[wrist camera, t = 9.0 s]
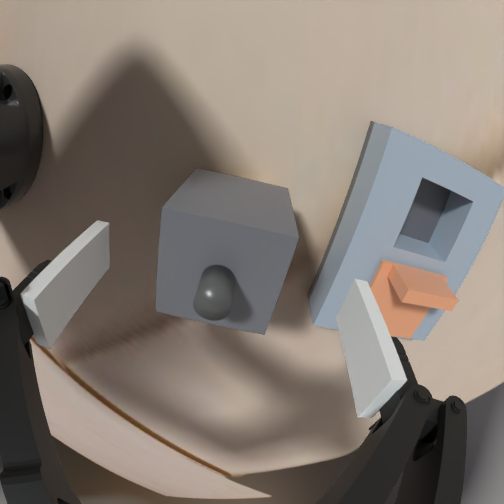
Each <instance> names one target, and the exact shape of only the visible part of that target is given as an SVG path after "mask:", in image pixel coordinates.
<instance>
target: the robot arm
mask: <svg viewBox="0 0 504 504" xmlns="http://www.w3.org/2000/svg"><path fill="white" fill-rule="evenodd" d="M41 148H42V117H41V110H40V105H39V100H38V97H37V94H36V91H35V88H34V86H33V84H32V82H31V80H30V79H29V77H28V76H27V75H26V74H25V73H24V72H23V71H22V70H21V69H20V68H18V67H16V66H14V65H8V64H6V65H0V210H2V209H4V208H6V207H8V206H9V205H11V204H13V203H14V202H16V201H17V200H19V199H20V198H21V197H22V196H23V195H24V194H25V193H26V192H27V191H28V189H29V188H30V186H31V184H32V182H33V180H34V178H35V175H36V172H37V169H38V165H39V161H40V156H41ZM109 268H110V249H109V223H107V222H103V221H98V220H97V221H96V222H95V223H93V224H92V225H91V226H90V227H89V228H88V229H86V230H85V231H84V232H83V233H82V234H81V235H80V236H79V237H77V238H76V239H75V240H74V241H73V242H72V243H71V244H70V245H69V246H68V247H67V248H65V249H64V250H63V251H62V252H61V253H60V254H59V255H58V256H57V257H56V258H55V259H54V260H53V261H50V260H47V261H45V262H43V263H41V264H39V265H38V266H37V267H36V268H35V269H34V270H33V272H31V273H30V274H29V275H28V277H26V278H25V279H24V280H23V281H22V282H21V283H20V284H19V285H18V286H17V287H16V288H15V289H14V290H13V291H12V288H11V284H10V281H9V280H8V279H7V278H5V277H0V455H1V459H2V463H3V467H4V469H3V472H1V474H0V481H1V485H2V488H3V492H4V495H5V497H6V500H7V503H8V504H81V502H80V500H79V499H78V497H77V495H76V494H75V492H74V491H73V490H72V488H71V486H70V485H69V483H68V480H67V478H66V475H65V473H64V470H63V468H62V465H61V463H60V460H59V457H58V454H57V451H56V449H55V446H54V443H53V440H52V437H51V433H50V430H49V427H48V423H47V420H46V416H45V412H44V409H43V405H42V401H41V396H40V392H39V387H38V383H37V377H36V372H35V367H34V361H33V354H32V347H31V343H30V341H29V340H30V338H31V337H32V335H33V334H34V337H35V340H36V342H37V344H39V345H41V346H43V347H45V348H48V349H51V347H52V346H53V344H54V343H55V341H56V340H57V338H58V337H59V335H60V334H61V333H62V331H63V330H64V328H65V327H66V325H67V324H68V322H69V321H70V320H71V318H72V317H73V315H74V314H75V312H76V311H77V310H78V308H79V307H80V306H81V304H82V303H83V301H84V300H85V299H86V297H87V296H88V295H89V293H90V292H91V291H92V289H93V288H94V287H95V285H96V284H97V283H98V282H99V280H100V279H101V278H102V276H103V275H104V274H105V273H106V271H107V270H108V269H109ZM336 321H337V325H338V329H339V333H340V338H341V342H342V346H343V351H344V355H345V359H346V364H347V369H348V373H349V378H350V383H351V387H352V392H353V397H354V403H355V408H356V413H357V417H373V416H374V415H375V414H376V413H377V412H378V411H379V410H380V414H381V418H380V419H379V420H378V421H376V422H375V423H374V424H373V425H372V426H371V427H370V428H369V430H371V429H372V430H371V431H370V433H369V434H368V436H367V438H366V439H365V441H364V442H363V443H362V445H361V446H360V448H359V449H358V451H357V452H356V454H355V455H354V456H353V458H352V459H351V461H350V462H349V463H348V464H347V466H346V467H345V468H344V470H343V471H342V472H341V474H340V475H339V476H338V478H337V479H336V480H335V481H334V483H333V484H332V485H331V486H330V487H329V489H328V490H327V491H326V492H325V494H324V495H323V496H322V497H321V498H320V499H319V501H318V502H317V503H316V504H384V503H385V501H386V500H387V498H388V497H389V495H390V493H391V491H392V489H393V488H394V486H395V484H396V483H397V481H398V479H399V477H400V475H401V473H402V471H403V470H404V472H403V476H402V480H401V484H400V487H399V491H398V495H397V498H396V501H395V504H460V502H461V496H462V489H463V481H464V471H465V458H466V440H467V410H466V406H465V404H464V402H463V401H462V400H461V399H460V398H458V397H457V396H449V397H448V398H447V399H446V400H445V401H444V402H443V401H439V400H436V399H433V398H432V395H431V393H430V392H429V390H428V389H426V388H425V387H424V386H422V385H418V383H417V380H416V378H415V375H414V372H413V370H412V367H411V365H410V362H408V357H407V355H406V352H405V350H404V347H403V345H402V344H401V342H400V341H399V340H398V339H397V338H396V337H391V336H390V333H389V331H388V328H387V326H386V323H385V321H384V319H383V316H382V314H381V312H380V309H379V307H378V305H377V302H376V300H375V298H374V295H373V293H372V291H371V289H370V287H369V284H368V282H367V281H363V280H359V279H354V281H353V284H352V286H351V288H350V290H349V292H348V294H347V296H346V298H345V300H344V302H343V304H342V306H341V308H340V310H339V312H338V314H337V316H336Z"/></svg>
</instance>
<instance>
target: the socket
mask: <svg viewBox="0 0 504 504" xmlns="http://www.w3.org/2000/svg"><path fill="white" fill-rule="evenodd" d="M503 198H504V187H503V186H501V185H500V184H498V183H497V182H495V181H494V180H492V179H490V178H489V177H487V176H486V175H484V174H482V173H481V172H479V171H478V170H476V169H474V168H472V167H471V166H469V165H467V164H466V163H464V162H462V161H460V160H459V159H457V158H455V157H453V156H451V155H449V154H448V153H446V152H444V151H442V150H440V149H438V148H436V147H434V146H432V145H430V144H428V143H426V142H424V141H422V140H420V139H418V138H415V137H413V136H411V135H409V134H407V133H405V132H402V131H400V130H398V129H395V128H393V127H390V126H387V125H383V124H380V123H376V122H373V121H371V122H370V126H369V129H368V132H367V136H366V139H365V142H364V145H363V148H362V151H361V155H360V158H359V161H358V164H357V167H356V170H355V173H354V176H353V179H352V182H351V185H350V187H349V190H348V193H347V196H346V199H345V202H344V204H343V207H342V210H341V213H340V215H339V218H338V221H337V224H336V226H335V229H334V232H333V234H332V237H331V239H330V242H329V245H328V247H327V250H326V252H325V255H324V257H323V260H322V262H321V265H320V267H319V270H318V272H317V275H316V277H315V280H314V282H313V284H312V287H311V289H310V292H309V294H308V300H309V306H310V311H311V317H312V323H313V326H317V327H323V328H330V329H336V330H339V329H338V325H337V321H336V316H337V314H338V312H339V310H340V308H341V306H342V304H343V302H344V300H345V298H346V296H347V294H348V292H349V290H350V288H351V286H352V284H353V281H354V279H359V280H363V281H367V282H368V284H369V285H370V283H371V281H372V279H373V277H374V275H375V273H376V271H377V269H378V267H379V265H380V263H381V261H382V259H383V260H387V261H391V262H395V263H399V264H403V265H407V266H410V267H414V268H418V269H422V270H426V271H429V272H433V273H437V274H441V275H444V276H446V277H447V278H448V280H447V281H446V284H447V285H448V286H449V288H450V289H451V290H452V292H453V293H454V295H455V294H456V292H457V291H458V289H459V287H460V286H461V284H462V282H463V281H464V279H465V277H466V275H467V274H468V272H469V270H470V268H471V266H472V265H473V263H474V261H475V259H476V257H477V255H478V253H479V251H480V249H481V247H482V245H483V243H484V241H485V239H486V237H487V235H488V233H489V231H490V228H491V226H492V224H493V222H494V219H495V217H496V215H497V212H498V210H499V208H500V205H501V203H502V200H503ZM444 311H445V310H442V309H437V308H430V309H429V311H428V313H427V314H426V316H425V317H424V319H423V320H422V322H421V323H420V325H419V326H418V328H417V329H416V330H415V332H414V333H413V335H412V336H411V338H406V339H415V340H425V339H426V337H427V336H428V335H429V333H430V332H431V330H432V329H433V328H434V326H435V325H436V323H437V322H438V320H439V319H440V317H441V316H442V314H443V313H444ZM391 337H395V336H391ZM397 338H404V337H397Z"/></svg>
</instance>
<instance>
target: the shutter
mask: <svg viewBox="0 0 504 504" xmlns="http://www.w3.org/2000/svg"><path fill="white" fill-rule="evenodd" d="M447 280H448V278H447V277H446V276H444V275H441V274H437V273H433V272H429V271H426V270H422V269H418V268H414V267H410V266H407V265H403V264H399V263H395V262H391V261H387V260H383V259H382V261H381V263H380V265H379V267H378V269H377V271H376V273H375V275H374V277H373V279H372V281H371V283H370V285H369V287H370V289H371V291H372V293H373V295H374V298H375V300H376V302H377V305H378V307H379V309H380V312H381V314H382V316H383V319H384V321H385V323H386V326H387V328H388V331H389V333H390V336H395V337H404V338H411V336H412V335H413V333H414V332H415V330H416V329H417V328H418V326H419V325H420V323H421V322H422V320H423V319H424V317H425V316H426V314H427V313H428V311H429V309H430V308H437V309H442V310H448V311H452V310H453V308H454V307H455V305H456V304H457V302H458V301H459V300H458V299H457V297H456V296H455V295H454V293H453V292H452V290H451V289H450V288H449V286H448V285H447V284H446V281H447Z"/></svg>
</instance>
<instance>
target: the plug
mask: <svg viewBox="0 0 504 504" xmlns="http://www.w3.org/2000/svg"><path fill="white" fill-rule="evenodd" d="M298 240H299V235H298V230H297V226H296V221H295V217H294V212H293V208H292V203H291V199H290V195H289V191H288V188H284V187H280V186H276V185H272V184H267V183H263V182H259V181H255V180H250V179H246V178H241V177H237V176H232V175H228V174H223V173H218V172H213V171H208V170H203V169H198V168H196V169H195V171H194V172H193V173H192V174H191V175H190V176H189V177H188V178H187V179H186V180H185V182H184V183H183V184H182V185H181V186H180V187H179V188H178V190H177V191H176V192H175V193H174V194H173V195H172V196H171V198H170V199H169V200H168V201H167V202H166V203H165V205H164V206H163V207H162V213H161V223H160V235H159V247H158V262H157V281H156V308H155V311H157V312H161V313H165V314H169V315H173V316H177V317H181V318H186V319H190V320H194V321H199V322H203V323H208V324H212V325H217V326H222V327H227V328H231V329H236V330H242V331H247V332H252V333H257V334H263V335H265V332H266V330H267V327H268V324H269V322H270V319H271V316H272V313H273V311H274V308H275V305H276V303H277V300H278V297H279V294H280V291H281V289H282V286H283V283H284V280H285V277H286V275H287V272H288V269H289V266H290V263H291V260H292V257H293V254H294V251H295V249H296V246H297V243H298Z"/></svg>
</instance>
